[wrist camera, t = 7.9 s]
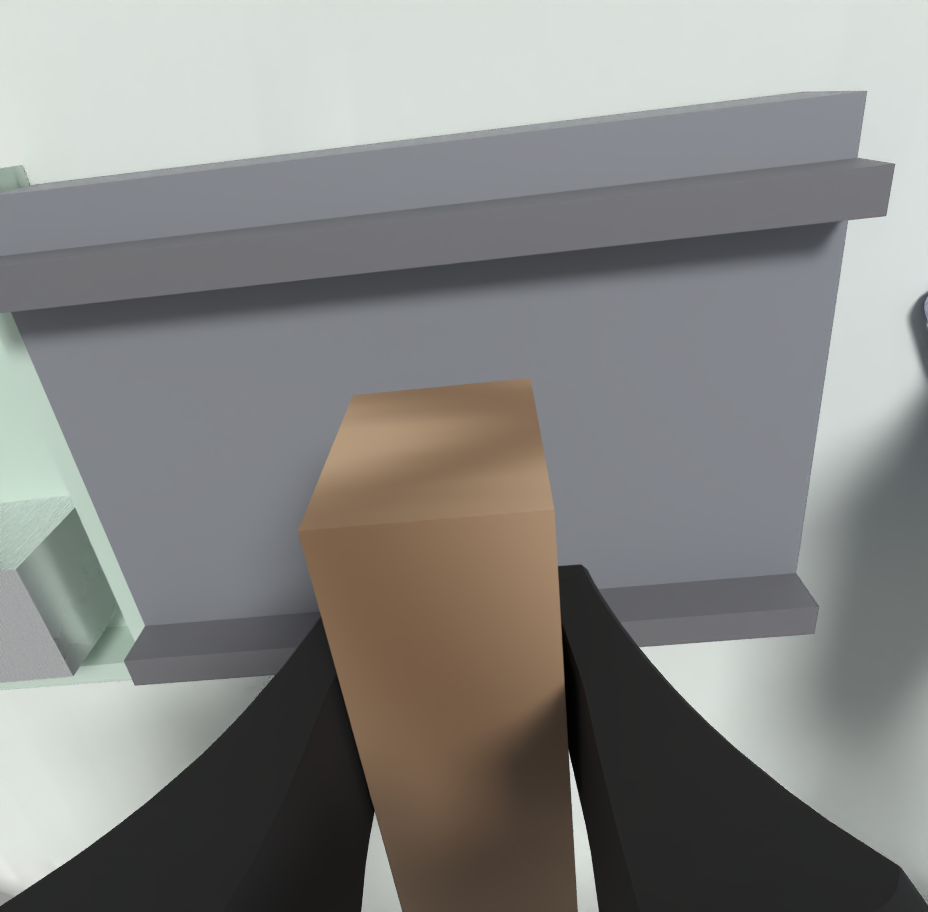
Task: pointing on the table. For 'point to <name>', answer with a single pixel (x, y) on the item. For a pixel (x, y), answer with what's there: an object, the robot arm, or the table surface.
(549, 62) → the table surface
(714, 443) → the channel board
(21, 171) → the chip tray
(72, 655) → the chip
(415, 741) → the bar
